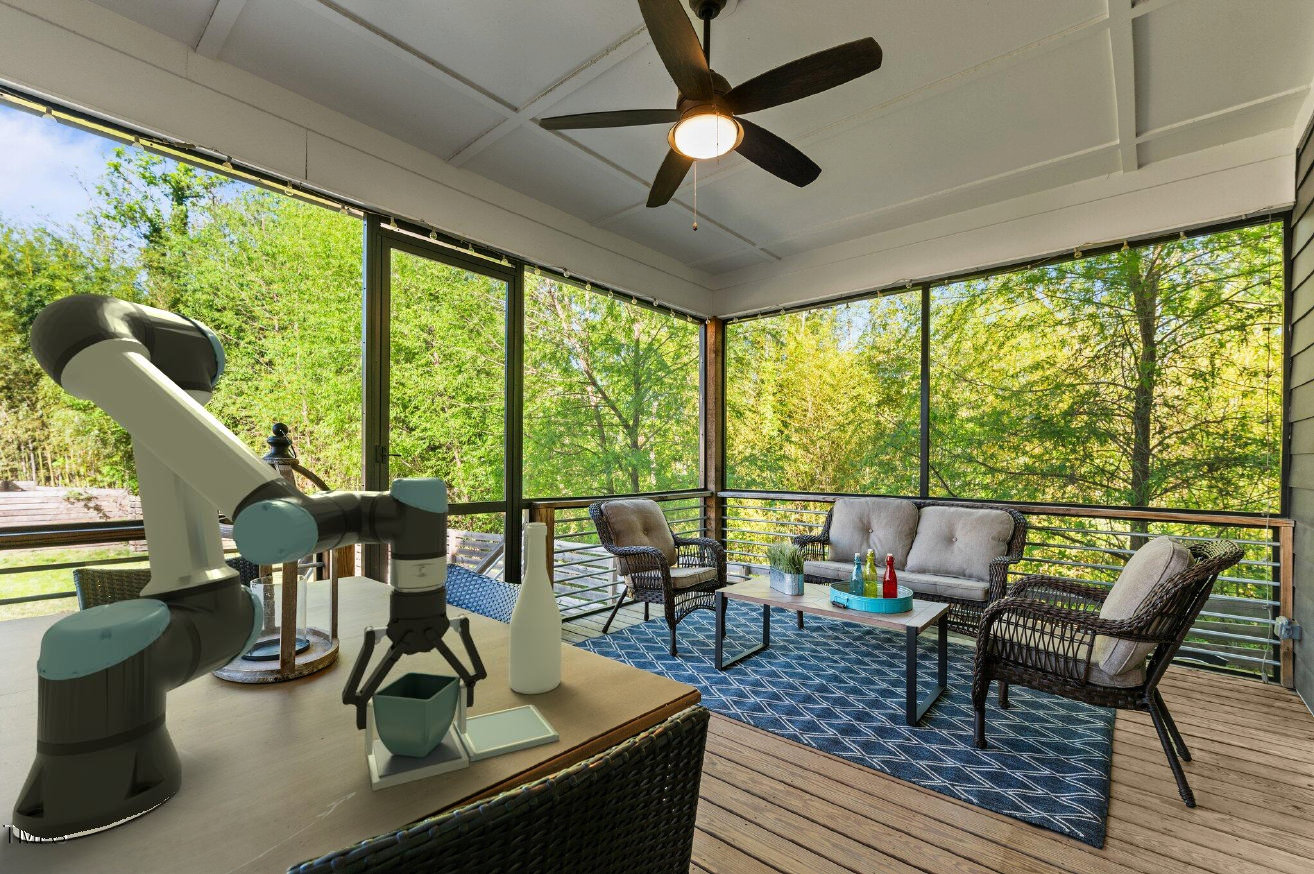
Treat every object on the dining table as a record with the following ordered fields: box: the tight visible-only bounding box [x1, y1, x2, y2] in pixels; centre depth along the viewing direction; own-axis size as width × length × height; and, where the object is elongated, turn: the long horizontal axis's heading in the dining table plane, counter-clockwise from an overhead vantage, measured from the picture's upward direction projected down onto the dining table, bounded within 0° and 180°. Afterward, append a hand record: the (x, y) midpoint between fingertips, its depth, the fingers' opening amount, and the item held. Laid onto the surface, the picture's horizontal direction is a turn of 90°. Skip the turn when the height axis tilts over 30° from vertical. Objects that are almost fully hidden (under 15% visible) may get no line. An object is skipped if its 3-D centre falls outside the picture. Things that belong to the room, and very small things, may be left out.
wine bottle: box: [508, 521, 563, 695], centre depth 111 cm, size 10×10×30 cm
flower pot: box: [371, 671, 462, 757], centre depth 84 cm, size 9×9×9 cm
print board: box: [452, 704, 560, 763], centre depth 92 cm, size 13×12×1 cm
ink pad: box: [366, 723, 470, 791], centre depth 84 cm, size 12×12×1 cm
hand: (416, 740), depth 84 cm, fingers closed on flower pot, 12 cm apart
